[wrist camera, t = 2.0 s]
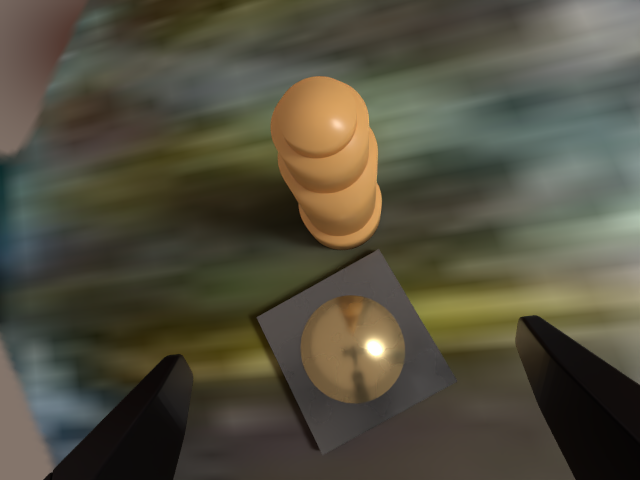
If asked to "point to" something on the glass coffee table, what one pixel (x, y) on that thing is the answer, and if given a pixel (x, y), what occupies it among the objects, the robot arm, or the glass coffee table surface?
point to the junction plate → (354, 351)
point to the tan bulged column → (329, 160)
